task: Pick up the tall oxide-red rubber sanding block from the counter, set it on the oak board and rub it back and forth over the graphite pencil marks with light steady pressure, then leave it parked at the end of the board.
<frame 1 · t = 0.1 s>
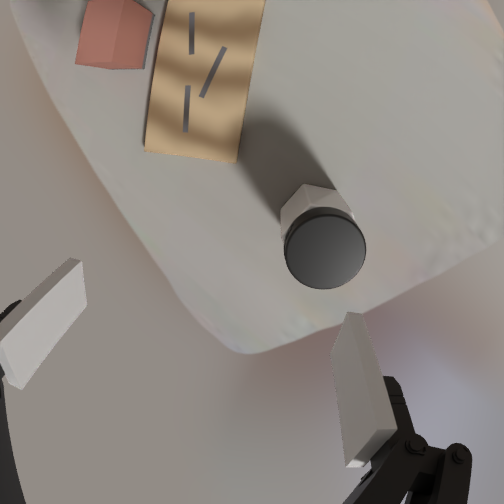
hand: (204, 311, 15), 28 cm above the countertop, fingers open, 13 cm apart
board: (202, 71, 34), on the countertop
jar: (313, 214, 41), on the countertop
sanding block: (132, 41, 33), on the countertop
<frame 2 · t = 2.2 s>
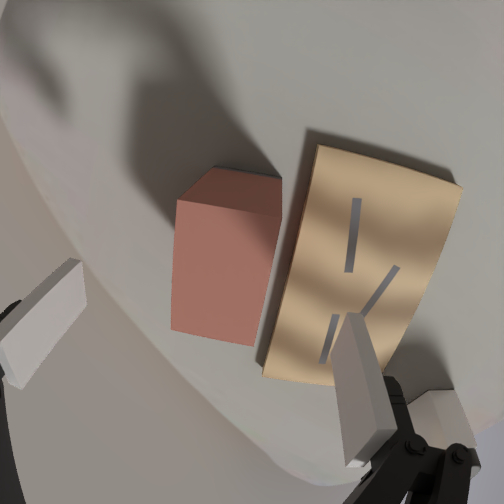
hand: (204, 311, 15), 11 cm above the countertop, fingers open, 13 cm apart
board: (354, 289, 26), on the countertop
jar: (427, 407, 33), on the countertop
sanding block: (239, 221, 25), on the countertop
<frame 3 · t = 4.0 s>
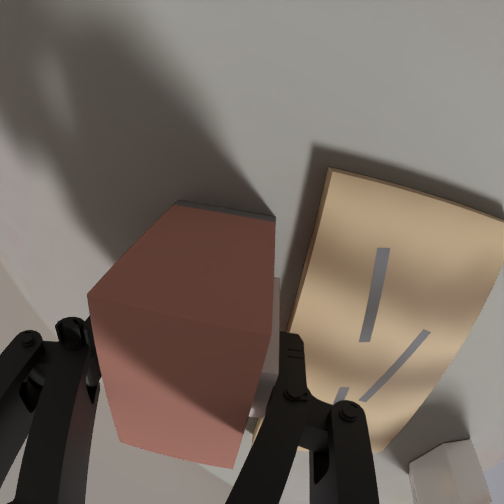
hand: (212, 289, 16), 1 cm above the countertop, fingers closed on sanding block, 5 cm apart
board: (369, 355, 19), on the countertop
jar: (438, 456, 26), on the countertop
sanding block: (216, 277, 18), on the countertop, touching gripper
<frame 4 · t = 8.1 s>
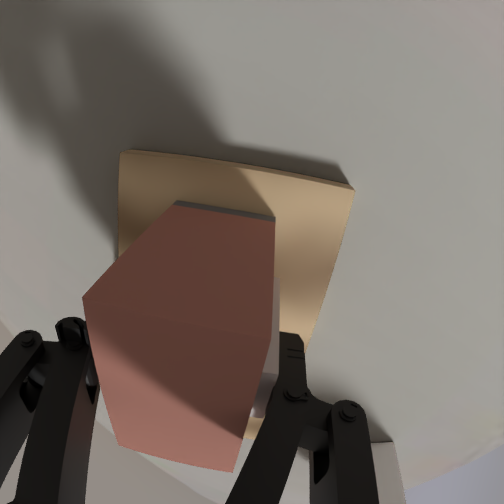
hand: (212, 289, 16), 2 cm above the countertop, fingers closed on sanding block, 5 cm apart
board: (213, 331, 21), on the countertop
jar: (359, 457, 28), on the countertop
sanding block: (216, 277, 17), point 1 cm above the countertop, touching gripper
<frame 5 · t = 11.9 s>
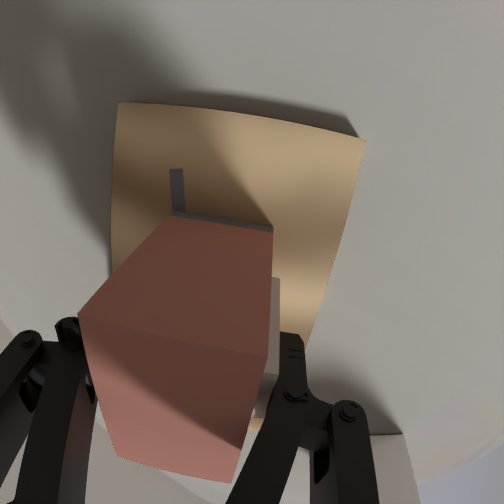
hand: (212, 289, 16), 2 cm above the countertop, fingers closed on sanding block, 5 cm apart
board: (212, 303, 19), on the countertop
jar: (366, 452, 26), on the countertop
sanding block: (214, 288, 17), point 1 cm above the countertop, touching gripper
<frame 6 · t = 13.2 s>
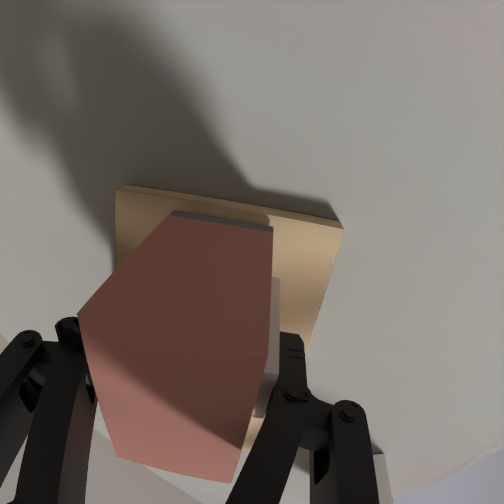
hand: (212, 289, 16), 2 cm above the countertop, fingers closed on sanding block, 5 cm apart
board: (209, 354, 21), on the countertop
jar: (351, 467, 28), on the countertop
sanding block: (214, 288, 17), point 2 cm above the countertop, touching gripper
when the fingers open (3 cm above the countertop, at t = 16.4 s): sanding block stays where it is, resting on board.
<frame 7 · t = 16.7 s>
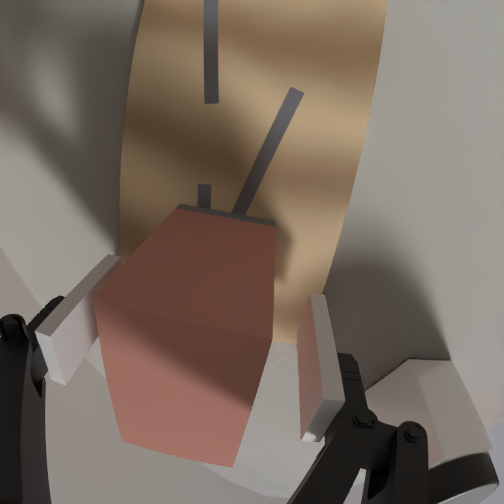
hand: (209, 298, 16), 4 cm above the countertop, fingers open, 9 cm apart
board: (238, 146, 16), on the countertop
jar: (409, 389, 23), on the countertop
sanding block: (217, 279, 18), point 1 cm above the countertop, touching board
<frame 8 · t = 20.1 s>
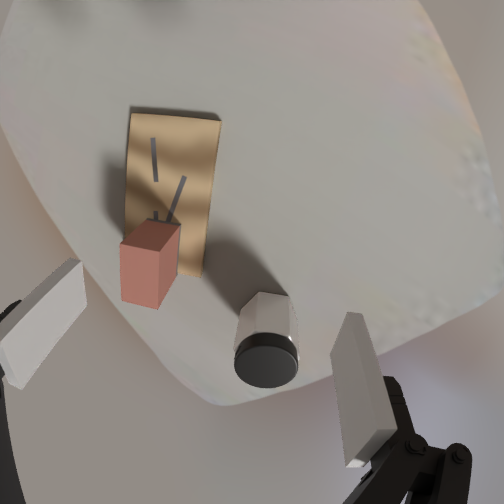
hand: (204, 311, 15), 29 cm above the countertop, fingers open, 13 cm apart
board: (168, 195, 42), on the countertop
jar: (269, 313, 49), on the countertop
sanding block: (162, 247, 44), point 1 cm above the countertop, touching board
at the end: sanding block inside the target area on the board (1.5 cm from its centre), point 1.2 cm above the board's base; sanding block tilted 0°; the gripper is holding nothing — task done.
